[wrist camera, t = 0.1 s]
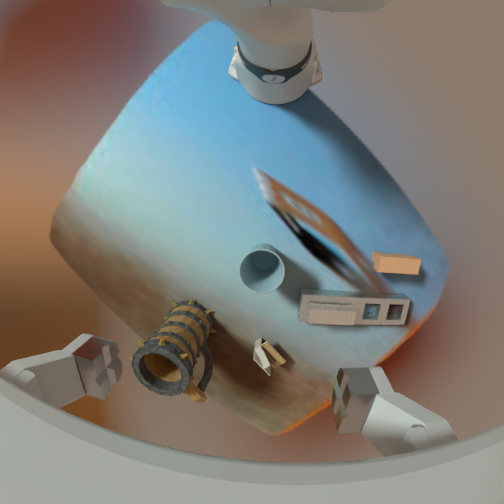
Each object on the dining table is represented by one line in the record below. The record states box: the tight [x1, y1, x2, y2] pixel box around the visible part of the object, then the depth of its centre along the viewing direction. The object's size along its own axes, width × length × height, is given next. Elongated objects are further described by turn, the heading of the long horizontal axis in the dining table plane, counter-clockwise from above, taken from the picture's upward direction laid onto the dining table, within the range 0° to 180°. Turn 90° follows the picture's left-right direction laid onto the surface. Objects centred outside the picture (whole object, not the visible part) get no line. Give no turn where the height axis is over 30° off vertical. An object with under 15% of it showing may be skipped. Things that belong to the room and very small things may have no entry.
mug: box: [130, 299, 216, 403], centre depth 53 cm, size 13×17×20 cm
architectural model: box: [253, 337, 286, 376], centre depth 59 cm, size 3×7×7 cm, turn 39°
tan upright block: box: [371, 252, 421, 275], centre depth 52 cm, size 3×9×7 cm, turn 87°
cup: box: [239, 244, 285, 293], centre depth 52 cm, size 8×8×10 cm
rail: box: [298, 288, 411, 325], centre depth 55 cm, size 6×24×7 cm, turn 87°
